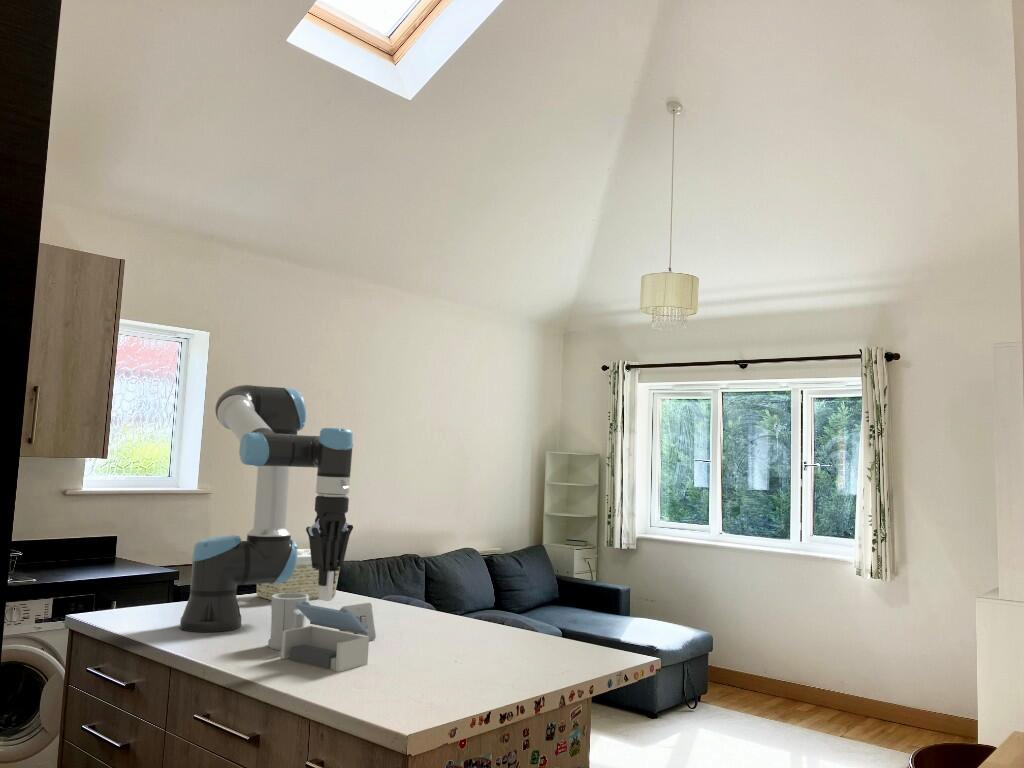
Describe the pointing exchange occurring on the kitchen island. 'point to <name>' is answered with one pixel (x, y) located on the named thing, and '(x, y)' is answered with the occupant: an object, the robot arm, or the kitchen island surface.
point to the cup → (285, 616)
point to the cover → (332, 618)
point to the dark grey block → (314, 656)
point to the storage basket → (297, 580)
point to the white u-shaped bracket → (329, 644)
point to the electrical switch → (363, 617)
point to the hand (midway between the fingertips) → (325, 599)
